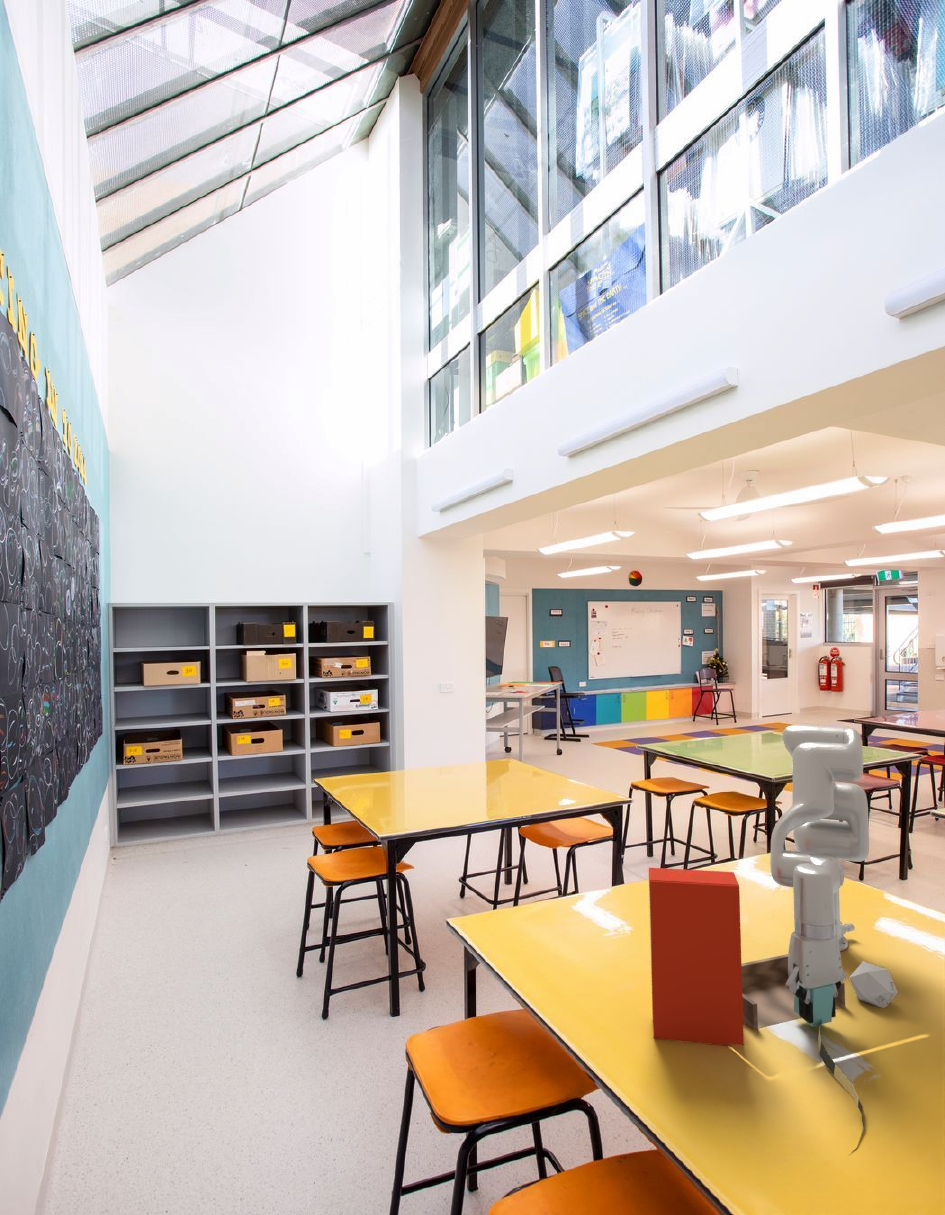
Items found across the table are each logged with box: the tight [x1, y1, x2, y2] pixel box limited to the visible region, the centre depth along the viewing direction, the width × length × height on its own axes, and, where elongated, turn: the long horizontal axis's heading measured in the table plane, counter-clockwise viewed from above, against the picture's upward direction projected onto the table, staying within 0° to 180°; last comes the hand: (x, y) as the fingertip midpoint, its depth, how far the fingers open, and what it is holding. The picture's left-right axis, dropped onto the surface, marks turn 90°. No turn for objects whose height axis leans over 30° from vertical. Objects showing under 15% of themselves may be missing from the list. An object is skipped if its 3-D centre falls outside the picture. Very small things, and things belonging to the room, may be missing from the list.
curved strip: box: [817, 1022, 865, 1152], centre depth 124 cm, size 6×39×4 cm, turn 157°
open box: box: [741, 953, 846, 1030], centre depth 155 cm, size 24×15×6 cm, turn 108°
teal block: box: [794, 983, 834, 1028], centre depth 145 cm, size 5×5×8 cm
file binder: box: [648, 867, 745, 1047], centre depth 145 cm, size 8×17×32 cm, turn 77°
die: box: [848, 960, 899, 1009], centre depth 155 cm, size 8×9×10 cm
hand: (817, 1015), depth 144 cm, fingers closed on teal block, 5 cm apart
